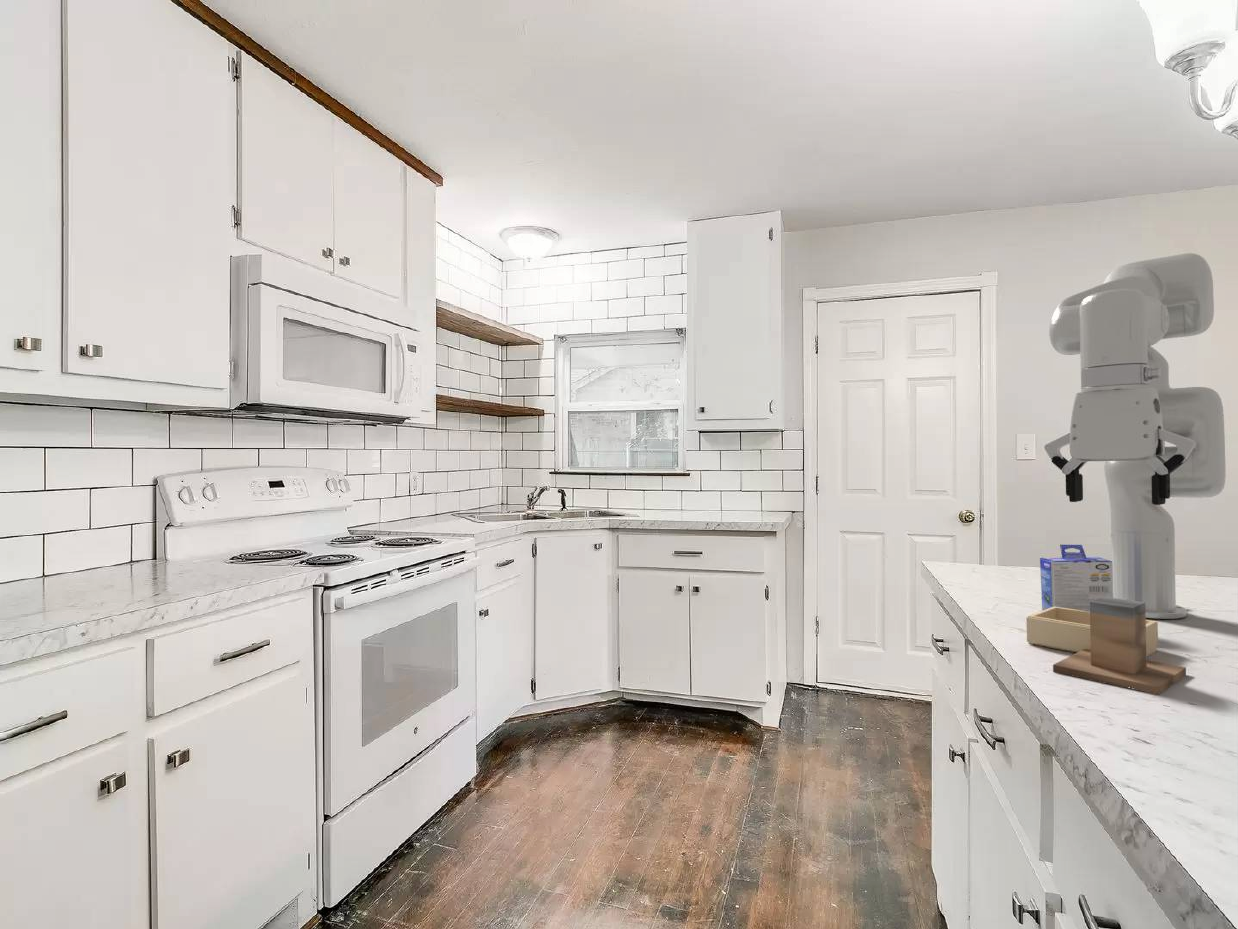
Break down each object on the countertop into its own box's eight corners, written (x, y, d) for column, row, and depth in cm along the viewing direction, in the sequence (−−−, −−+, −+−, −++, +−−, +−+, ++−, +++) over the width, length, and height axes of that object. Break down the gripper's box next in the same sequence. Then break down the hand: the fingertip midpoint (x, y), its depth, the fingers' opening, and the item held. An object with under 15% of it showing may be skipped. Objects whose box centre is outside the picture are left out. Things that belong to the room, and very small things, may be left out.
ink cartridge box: (1100, 624, 119) (1098, 543, 119) (1116, 632, 113) (1115, 548, 113) (1039, 622, 121) (1038, 543, 121) (1052, 630, 115) (1051, 547, 115)
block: (1104, 658, 96) (1103, 596, 96) (1146, 666, 92) (1145, 602, 92) (1090, 665, 93) (1089, 601, 93) (1134, 674, 89) (1132, 607, 89)
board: (1085, 655, 101) (1085, 648, 101) (1185, 674, 91) (1185, 667, 91) (1053, 671, 94) (1053, 664, 94) (1158, 694, 84) (1158, 687, 84)
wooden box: (1055, 631, 114) (1054, 606, 114) (1158, 649, 103) (1157, 621, 103) (1026, 644, 107) (1026, 616, 107) (1133, 664, 96) (1132, 634, 96)
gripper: (1201, 375, 87) (1203, 503, 88) (1054, 387, 101) (1057, 498, 102) (1185, 371, 83) (1187, 507, 83) (1034, 385, 97) (1036, 502, 97)
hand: (1115, 502), depth 92 cm, fingers open, 9 cm apart
